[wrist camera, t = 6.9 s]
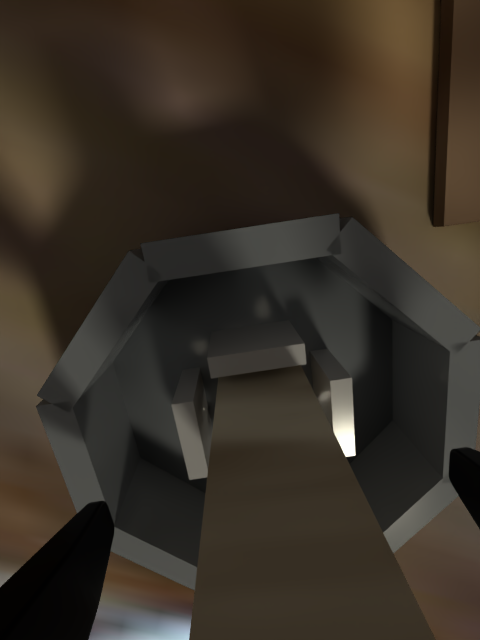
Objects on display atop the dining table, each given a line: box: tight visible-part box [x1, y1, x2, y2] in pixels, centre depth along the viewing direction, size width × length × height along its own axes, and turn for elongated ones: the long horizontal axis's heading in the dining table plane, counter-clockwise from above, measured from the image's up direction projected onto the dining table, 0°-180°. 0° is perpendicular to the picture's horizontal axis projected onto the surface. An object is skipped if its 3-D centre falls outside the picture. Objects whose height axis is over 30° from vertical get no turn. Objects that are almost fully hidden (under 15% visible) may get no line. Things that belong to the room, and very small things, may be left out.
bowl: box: [36, 213, 480, 590], centre depth 11 cm, size 13×13×4 cm
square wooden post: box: [189, 365, 436, 640], centre depth 8 cm, size 3×3×10 cm
